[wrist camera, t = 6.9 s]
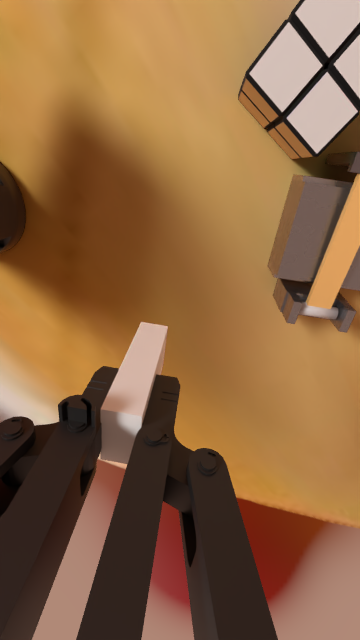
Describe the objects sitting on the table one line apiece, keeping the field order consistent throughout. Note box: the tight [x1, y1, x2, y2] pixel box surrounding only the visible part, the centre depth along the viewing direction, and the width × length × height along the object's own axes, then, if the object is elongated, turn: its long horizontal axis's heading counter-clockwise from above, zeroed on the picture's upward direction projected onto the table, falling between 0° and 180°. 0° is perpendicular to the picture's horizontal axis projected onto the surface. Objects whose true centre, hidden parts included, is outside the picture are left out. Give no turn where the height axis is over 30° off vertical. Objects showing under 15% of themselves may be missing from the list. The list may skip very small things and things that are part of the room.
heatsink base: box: [268, 152, 360, 333], centre depth 37 cm, size 12×19×9 cm, turn 172°
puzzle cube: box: [238, 0, 360, 159], centre depth 29 cm, size 10×10×10 cm
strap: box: [299, 173, 360, 319], centre depth 34 cm, size 5×17×2 cm, turn 172°
